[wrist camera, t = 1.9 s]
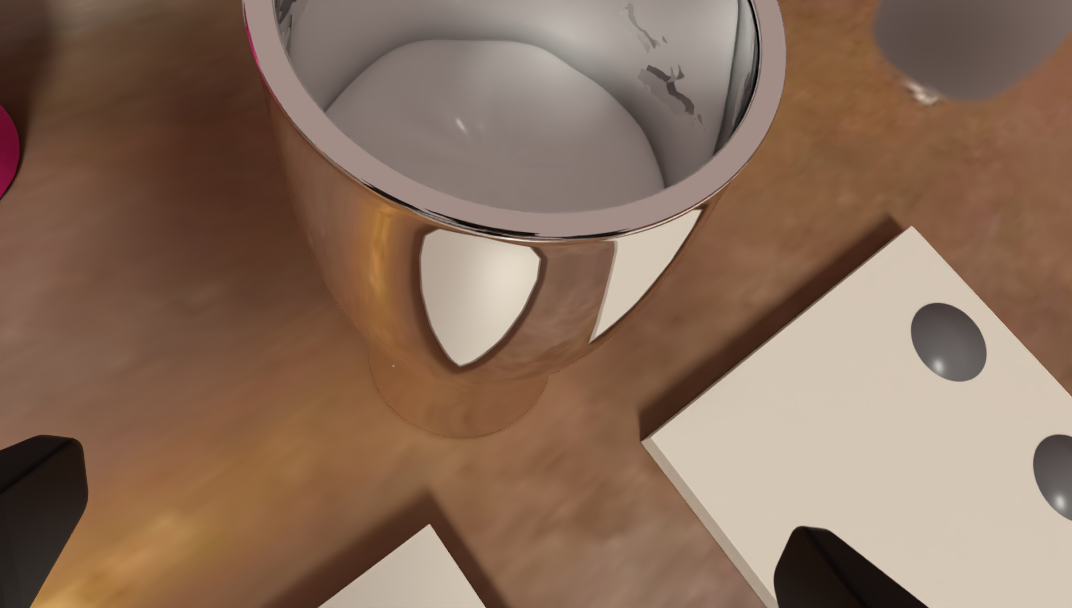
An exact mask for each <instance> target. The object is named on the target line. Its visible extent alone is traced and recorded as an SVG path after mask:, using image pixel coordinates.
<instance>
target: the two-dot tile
mask: <svg viewBox="0 0 1072 608" xmlns="http://www.w3.org/2000/svg"><path fill="white" fill-rule="evenodd" d="M641 443H642V444H643V446H644V447H645V448H646V449H647V451H648V452H649V453H650V455H651V456H652V457H653V459H654V460H655V461H656V463H657V464H658V465H659V467H660V468H661V469H662V470H663V472H664V473H665V474H666V476H667V477H668V478H669V480H670V481H671V482H672V484H673V485H674V486H675V487H676V489H677V490H678V491H679V493H680V494H681V495H682V497H683V498H684V499H685V501H686V502H687V503H688V504H689V506H690V507H691V508H692V510H693V511H694V512H695V514H696V515H697V516H698V518H699V519H700V520H701V522H702V523H703V524H704V525H705V527H706V528H707V529H708V531H709V532H710V533H711V535H712V536H713V537H714V539H715V540H716V541H717V542H718V544H719V545H720V546H721V548H722V549H723V550H724V552H725V553H726V554H727V556H728V557H729V558H730V559H731V561H732V562H733V563H734V565H735V566H736V567H737V569H738V570H739V571H740V573H741V574H742V575H743V577H744V578H745V579H746V580H747V582H748V583H749V584H750V586H751V587H752V588H753V590H754V591H755V592H756V594H757V595H758V596H759V597H760V599H761V600H762V601H763V603H764V604H765V605H766V607H767V608H779V607H778V603H777V599H776V595H775V591H774V583H773V578H774V571H775V568H776V565H777V563H778V561H779V559H780V557H781V554H782V552H783V550H784V548H785V546H786V543H787V541H788V539H789V537H790V535H791V533H792V531H793V530H794V529H795V528H796V527H798V526H810V527H819V528H825V529H828V530H830V531H832V532H833V533H834V534H836V535H837V536H838V537H839V538H841V539H842V540H843V541H844V542H846V543H847V544H848V545H850V546H851V547H852V548H853V549H855V550H856V551H857V552H859V553H860V554H861V555H862V556H864V557H865V558H866V559H867V560H869V561H870V562H871V563H873V564H874V565H875V566H876V567H878V568H879V569H880V570H882V571H883V572H884V573H885V574H887V575H888V576H889V577H890V578H892V579H893V580H894V581H896V582H897V583H898V584H899V585H901V586H902V587H903V588H905V589H906V590H907V591H908V592H910V593H911V594H912V595H913V596H915V597H916V598H917V599H919V600H920V601H921V602H922V603H924V604H925V605H926V606H928V607H929V608H1072V397H1071V396H1070V395H1069V394H1068V393H1067V392H1066V390H1065V389H1064V388H1063V387H1062V386H1061V385H1060V384H1059V383H1058V382H1057V381H1056V380H1055V379H1054V378H1053V377H1052V375H1051V374H1050V373H1049V372H1048V371H1047V370H1046V369H1045V368H1044V367H1043V366H1042V365H1041V364H1040V363H1039V361H1038V360H1037V359H1036V358H1035V357H1034V356H1033V355H1032V354H1031V353H1030V352H1029V351H1028V350H1027V349H1026V348H1025V346H1024V345H1023V344H1022V343H1021V342H1020V341H1019V340H1018V339H1017V338H1016V337H1015V336H1014V335H1013V334H1012V333H1011V331H1010V330H1009V329H1008V328H1007V327H1006V326H1005V325H1004V324H1003V323H1002V322H1001V321H1000V320H999V319H998V317H997V316H996V315H995V314H994V313H993V312H992V311H991V310H990V309H989V308H988V307H987V306H986V305H985V304H984V302H983V301H982V300H981V299H980V298H979V297H978V296H977V295H976V294H975V293H974V292H973V291H972V290H971V289H970V287H969V286H968V285H967V284H966V283H965V282H964V281H963V280H962V279H961V278H960V277H959V276H958V275H957V273H956V272H955V271H954V270H953V269H952V268H951V267H950V266H949V265H948V264H947V263H946V262H945V261H944V260H943V258H942V257H941V256H940V255H939V254H938V253H937V252H936V251H935V250H934V249H933V248H932V247H931V246H930V245H929V243H928V242H927V241H926V240H925V239H924V238H923V237H922V236H921V235H920V234H919V233H918V232H917V231H916V229H915V228H914V227H913V226H911V227H909V228H908V229H906V230H905V231H903V232H901V233H900V234H898V235H897V236H895V237H894V238H893V239H892V240H890V241H889V242H888V243H887V244H885V245H884V246H883V247H882V248H880V249H879V250H878V251H877V252H875V253H874V254H873V255H872V256H870V257H869V258H868V259H867V260H866V261H864V262H863V263H862V264H861V265H859V266H858V267H857V268H856V269H854V270H853V271H852V272H851V273H849V274H848V275H847V276H846V277H844V278H843V279H842V280H841V281H840V282H838V283H837V284H836V285H835V286H833V287H832V288H831V289H830V290H828V291H827V292H826V293H825V294H823V295H822V296H821V297H820V298H818V299H817V300H816V301H815V302H814V303H812V304H811V305H810V306H809V307H807V308H806V309H805V310H804V311H802V312H801V313H800V314H799V315H797V316H796V317H795V318H794V319H792V320H791V321H790V322H789V323H788V324H786V325H785V326H784V327H783V328H781V329H780V330H779V331H778V332H776V333H775V334H774V335H773V336H771V337H770V338H769V339H768V340H766V341H765V342H764V343H763V344H762V345H760V346H759V347H758V348H757V349H755V350H754V351H753V352H752V353H750V354H749V355H748V356H747V357H745V358H744V359H743V360H742V361H740V362H739V363H738V364H737V365H736V366H734V367H733V368H732V369H731V370H729V371H728V372H727V373H726V374H724V375H723V376H722V377H721V378H719V379H718V380H717V381H716V382H714V383H713V384H712V385H711V386H710V387H708V388H707V389H706V390H705V391H703V392H702V393H701V394H700V395H698V396H697V397H696V398H695V399H693V400H692V401H691V402H690V403H688V404H687V405H686V406H685V407H684V408H682V409H681V410H680V411H679V412H677V413H676V414H675V415H674V416H672V417H671V418H670V419H669V420H667V421H666V422H665V423H664V424H662V425H661V426H660V427H659V428H658V429H656V430H655V431H654V432H653V433H651V434H650V435H649V436H648V437H646V438H645V439H644V440H643V441H641Z"/></svg>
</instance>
